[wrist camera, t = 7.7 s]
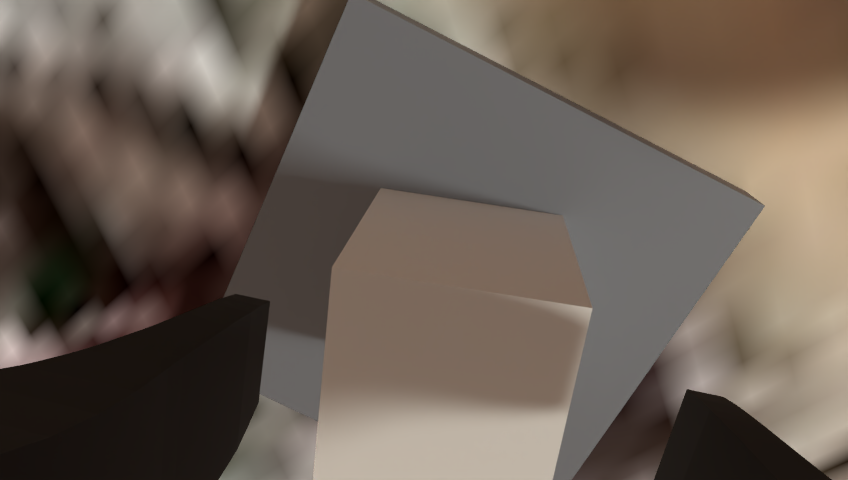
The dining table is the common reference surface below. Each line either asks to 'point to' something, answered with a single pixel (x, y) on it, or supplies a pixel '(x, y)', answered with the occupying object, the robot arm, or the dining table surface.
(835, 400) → the dining table surface
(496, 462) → the block
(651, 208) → the stub plate
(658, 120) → the dining table surface
